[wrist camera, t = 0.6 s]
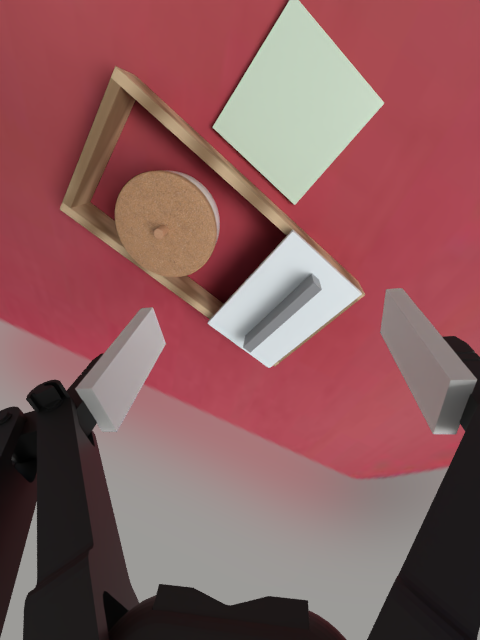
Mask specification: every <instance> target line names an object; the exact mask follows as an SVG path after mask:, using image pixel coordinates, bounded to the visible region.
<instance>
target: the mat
mask: <svg viewBox="0 0 480 640" xmlns="http://www.w3.org/2000/svg"><path fill="white" fill-rule="evenodd" d="M383 104H384V102H383V101H382V100H381V98H380V97H379V96H378V95H377V94H376V92H375V91H374V90H373V89H372V88H371V86H370V85H369V84H368V83H367V82H366V80H365V79H364V78H363V77H362V76H361V74H360V73H359V72H358V71H357V70H356V68H355V67H354V66H353V65H352V64H351V62H350V61H349V60H348V59H347V58H346V57H345V55H344V54H343V53H342V52H341V51H340V49H339V48H338V47H337V46H336V45H335V43H334V42H333V41H332V40H331V39H330V37H329V36H328V35H327V34H326V33H325V31H324V30H323V29H322V28H321V27H320V25H319V24H318V23H317V22H316V21H315V19H314V18H313V17H312V16H311V15H310V13H309V12H308V11H307V10H306V9H305V7H304V6H303V5H302V4H301V3H300V1H299V0H289V2H288V4H287V5H286V7H285V9H284V10H283V12H282V14H281V15H280V17H279V18H278V20H277V22H276V23H275V25H274V27H273V28H272V30H271V32H270V33H269V35H268V37H267V38H266V40H265V42H264V43H263V45H262V46H261V48H260V50H259V51H258V53H257V55H256V56H255V58H254V60H253V61H252V63H251V65H250V66H249V68H248V70H247V71H246V73H245V74H244V76H243V78H242V79H241V81H240V83H239V84H238V86H237V88H236V89H235V91H234V93H233V94H232V96H231V98H230V99H229V101H228V103H227V104H226V106H225V107H224V109H223V111H222V112H221V114H220V116H219V117H218V119H217V121H216V122H215V124H214V126H213V128H214V129H215V130H216V131H217V132H218V133H219V134H220V135H221V136H222V137H223V138H224V139H225V140H226V141H227V142H228V143H230V144H231V145H232V146H233V147H234V148H235V149H236V150H237V151H238V152H239V153H240V154H241V155H242V156H243V157H244V158H245V159H246V160H248V161H249V162H250V163H251V164H252V165H253V166H254V167H255V168H256V169H257V170H258V171H259V172H260V173H261V174H262V175H263V176H264V177H266V178H267V179H268V180H269V181H270V182H271V183H272V184H273V185H274V186H275V187H276V188H277V189H278V190H279V191H280V192H281V193H282V194H284V195H285V196H286V197H287V198H288V199H289V200H290V201H291V202H292V203H293V204H294V205H295V204H296V203H297V202H298V201H299V200H300V199H301V197H302V196H303V195H304V194H305V193H306V192H307V191H308V189H309V188H310V187H311V186H312V185H313V184H314V183H315V182H316V180H317V179H318V178H319V177H320V176H321V175H322V174H323V172H324V171H325V170H326V169H327V168H328V167H329V166H330V164H331V163H332V162H333V161H334V160H335V159H336V158H337V156H338V155H339V154H340V153H341V152H342V151H343V150H344V148H345V147H346V146H347V145H348V144H349V143H350V142H351V141H352V139H353V138H354V137H355V136H356V135H357V134H358V133H359V131H360V130H361V129H362V128H363V127H364V126H365V125H366V123H367V122H368V121H369V120H370V119H371V118H372V117H373V115H374V114H375V113H376V112H377V111H378V110H379V109H380V107H381V106H382V105H383Z"/></svg>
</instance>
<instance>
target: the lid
mask: <svg viewBox="0 0 480 640" xmlns="http://www.w3.org/2000/svg"><path fill="white" fill-rule="evenodd" d="M360 295H362V293H361V291H360V290H359V289H358V288H357V287H356V286H354V285H353V284H352V283H351V282H350V281H349V280H348V279H347V278H346V277H345V276H344V275H342V274H341V273H340V272H339V271H338V270H337V269H336V268H335V267H334V266H333V265H331V264H330V263H329V262H328V261H327V260H326V259H325V258H324V257H323V256H322V255H321V254H319V253H318V252H317V251H316V250H315V249H314V248H313V247H312V246H311V245H310V244H308V243H307V242H306V241H305V240H304V239H303V238H302V237H301V236H300V235H299V234H298V233H296V232H295V231H294V230H293V229H292V231H291V232H290V233H289V234H288V235H287V236H286V237H285V238H284V239H283V240H282V241H281V243H280V244H279V245H278V246H277V247H276V248H275V249H274V250H273V251H272V252H271V253H270V254H269V256H268V257H267V258H266V259H265V260H264V261H263V262H262V263H261V264H260V265H259V266H258V268H257V269H256V270H255V271H254V272H253V273H252V274H251V275H250V276H249V277H248V278H247V279H246V281H245V282H244V283H243V284H242V285H241V286H240V287H239V288H238V289H237V290H236V291H235V293H234V294H233V295H232V296H231V297H230V298H229V299H228V300H227V301H226V302H225V303H224V304H223V306H222V307H221V308H220V309H219V310H218V311H217V312H216V313H215V314H214V315H213V316H212V317H211V319H210V320H209V321H208V324H209V325H210V326H212V327H213V328H214V329H216V330H217V331H218V332H220V333H221V334H223V335H224V336H225V337H227V338H228V339H230V340H231V341H232V342H234V343H235V344H236V345H238V346H239V347H241V348H242V349H243V350H245V351H246V352H247V353H249V354H250V355H252V356H253V357H254V358H256V359H257V360H258V361H260V362H261V363H263V364H264V365H265V366H267V367H268V368H270V367H271V366H273V365H274V364H275V363H276V362H278V361H279V360H280V359H281V358H283V357H284V356H285V355H286V354H288V353H289V352H290V351H291V350H293V349H294V348H295V347H297V346H298V345H299V344H300V343H302V342H303V341H304V340H305V339H307V338H308V337H309V336H310V335H312V334H313V333H314V332H315V331H317V330H318V329H319V328H320V327H322V326H323V325H324V324H325V323H327V322H328V321H329V320H330V319H332V318H333V317H334V316H335V315H337V314H338V313H339V312H340V311H342V310H343V309H344V308H345V307H347V306H348V305H349V304H350V303H352V302H353V301H354V300H355V299H357V298H358V297H359V296H360Z"/></svg>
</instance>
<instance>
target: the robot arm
mask: <svg viewBox="0 0 480 640" xmlns="http://www.w3.org/2000/svg"><path fill="white" fill-rule="evenodd" d="M380 333H381V335H382V337H383V339H384V341H385V343H386V344H387V346H388V348H389V350H390V352H391V354H392V356H393V358H394V360H395V362H396V364H397V366H398V368H399V369H400V371H401V373H402V375H403V377H404V379H405V381H406V383H407V385H408V387H409V389H410V391H411V392H412V394H413V396H414V398H415V400H416V402H417V404H418V406H419V408H420V410H421V412H422V414H423V416H424V417H425V419H426V421H427V423H428V425H429V427H430V429H431V431H432V433H433V434H456V433H457V430H458V428H459V425H460V424H461V426H462V427H463V429H464V430H465V434H464V436H463V438H462V440H461V442H460V444H459V447H458V449H457V451H456V453H455V455H454V457H453V459H452V462H451V464H450V466H449V468H448V470H447V472H446V475H445V477H444V479H443V481H442V483H441V485H440V487H439V489H438V491H437V494H436V496H435V498H434V500H433V502H432V504H431V506H430V509H429V511H428V513H427V515H426V517H425V519H424V521H423V524H422V526H421V528H420V530H419V532H418V534H417V536H416V539H415V541H414V543H413V545H412V547H411V549H410V552H409V554H408V556H407V558H406V560H405V562H404V564H403V566H402V568H401V571H400V573H399V575H398V576H397V578H396V580H395V582H394V584H393V586H392V588H391V590H390V592H389V594H388V596H387V599H386V601H385V603H384V605H383V607H382V609H381V612H380V613H379V616H378V618H377V620H376V622H375V624H374V626H373V628H372V631H371V633H370V635H369V637H368V639H367V640H477V635H478V631H479V628H480V357H479V356H478V355H477V354H476V353H475V351H474V350H473V349H472V348H471V347H470V346H469V345H468V344H467V343H466V342H464V341H462V340H460V339H459V338H457V337H455V336H448V337H442V336H441V335H440V334H439V332H438V331H437V330H436V329H435V328H434V326H433V325H432V324H431V323H430V322H429V320H428V319H427V318H426V317H425V315H424V314H423V313H422V312H421V311H420V309H419V308H418V307H417V306H416V305H415V303H414V302H413V301H412V300H411V298H410V297H409V296H408V295H407V294H406V292H405V291H404V290H403V289H402V288H397V289H386V294H385V301H384V309H383V317H382V324H381V332H380ZM165 344H166V343H165V340H164V337H163V335H162V332H161V329H160V326H159V323H158V321H157V318H156V315H155V312H154V309H153V307H152V308H141V309H140V310H139V312H138V313H137V314H136V315H135V316H134V318H133V319H132V320H131V321H130V323H129V324H128V325H127V326H126V327H125V329H124V330H123V331H122V332H121V333H120V335H119V336H118V337H117V338H116V340H115V341H114V342H113V343H112V344H111V346H110V347H109V348H108V349H107V351H106V352H105V353H104V354H100V355H99V356H98V357H96V358H95V359H94V360H92V362H91V363H90V364H89V365H88V366H87V369H85V370H84V371H83V372H82V375H80V376H79V377H78V378H77V379H76V380H75V382H74V383H73V384H72V385H71V386H70V387H69V389H68V390H67V391H66V390H65V388H64V387H63V385H62V384H61V382H60V381H58V380H50V381H47V382H44V383H42V384H40V385H38V386H37V387H35V388H34V389H33V390H32V391H31V392H30V393H29V394H28V395H27V398H26V400H27V401H28V402H29V404H30V405H31V406H32V407H33V409H34V410H35V411H32V412H28V413H25V414H23V412H22V411H21V410H20V409H19V408H18V407H9V408H6V409H4V410H1V411H0V636H1V633H2V629H3V625H4V621H5V618H6V614H7V610H8V607H9V603H10V599H11V595H12V592H13V588H14V584H15V580H16V577H17V573H18V569H19V565H20V562H21V558H22V554H23V551H24V547H25V543H26V539H27V535H28V532H29V528H30V524H31V521H32V517H33V513H34V510H35V506H36V502H37V585H36V587H35V589H34V590H32V591H30V592H29V593H28V595H27V597H26V600H25V607H24V628H23V640H346V639H345V638H344V636H343V635H342V634H341V633H340V632H339V631H338V630H337V629H336V628H335V627H333V626H332V625H331V624H330V623H329V622H328V621H326V620H325V619H323V618H321V617H320V616H319V615H317V614H315V613H313V612H311V611H308V601H306V600H298V599H289V598H280V597H271V596H268V597H264V598H260V599H256V600H252V601H248V602H244V603H239V604H236V605H231V606H230V605H225V604H223V603H221V602H219V601H217V600H215V599H213V598H212V597H210V596H208V595H206V594H204V593H202V592H200V591H198V590H196V589H194V588H190V587H181V586H172V585H163V584H159V587H158V591H157V595H156V596H153V597H151V598H148V599H146V600H144V601H142V602H141V603H139V602H138V599H137V597H136V595H135V593H134V590H133V588H132V586H131V583H130V580H129V576H128V572H127V568H126V564H125V559H124V556H123V551H122V547H121V542H120V538H119V534H118V530H117V525H116V521H115V517H114V513H113V508H112V504H111V500H110V496H109V492H108V487H107V483H106V479H105V475H104V470H103V466H102V462H101V457H100V454H99V449H98V445H97V440H96V436H95V434H94V432H93V431H92V430H93V428H94V426H95V425H96V423H97V424H98V426H99V428H100V429H101V431H103V432H110V431H111V432H113V431H114V432H117V431H118V429H119V427H120V425H121V423H122V422H123V420H124V418H125V416H126V414H127V413H128V411H129V409H130V407H131V405H132V404H133V402H134V400H135V398H136V396H137V395H138V392H139V391H140V389H141V387H142V386H143V384H144V382H145V380H146V378H147V377H148V375H149V373H150V371H151V370H152V368H153V366H154V364H155V362H156V361H157V359H158V357H159V355H160V353H161V352H162V350H163V348H164V346H165Z"/></svg>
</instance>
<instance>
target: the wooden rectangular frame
mask: <svg viewBox="0 0 480 640" xmlns="http://www.w3.org/2000/svg"><path fill="white" fill-rule="evenodd" d="M135 100H137V101H138V102H139V103H140V104H141V105H142V106H143V107H144V108H145V109H147V110H148V111H149V112H150V113H151V114H152V115H153V116H154V117H155V118H157V119H158V120H159V121H160V122H161V123H162V124H163V125H164V126H165V127H167V128H168V129H169V130H170V131H171V132H172V133H173V134H174V135H175V136H177V137H178V138H179V139H180V140H181V141H182V142H183V143H184V144H185V145H187V146H188V147H189V148H190V149H191V150H192V151H193V152H194V153H195V154H197V155H198V156H199V157H200V158H201V159H202V160H203V161H204V162H205V163H207V164H208V165H209V166H210V167H211V168H212V169H213V170H214V171H215V172H217V173H218V174H219V175H220V176H221V177H222V178H223V179H224V180H225V181H227V182H228V183H229V184H230V185H231V186H232V187H233V188H234V189H235V190H237V191H238V192H239V193H240V194H241V195H242V196H243V197H244V198H245V199H247V200H248V201H249V202H250V203H251V204H252V205H253V206H254V207H255V208H257V209H258V210H259V211H260V212H261V213H262V214H263V215H264V216H265V217H267V218H268V219H269V220H270V221H271V222H272V223H273V224H274V225H276V226H277V227H278V228H279V229H280V230H281V231H282V232H283V233H284V234H286V235H288V234H289V233H290V232H291V231H292V229H293V230H294V231H295V232H296V233H298V234H299V235H300V236H301V237H302V238H303V239H304V240H305V241H306V242H307V243H308V244H310V245H311V246H312V247H313V248H314V249H315V250H316V251H317V252H318V253H319V254H321V255H322V256H323V257H324V258H325V259H326V260H327V261H328V262H329V263H330V264H331V265H333V266H334V267H335V268H336V269H337V270H338V271H339V272H340V273H341V274H342V275H344V276H345V277H346V278H347V279H348V280H349V281H350V282H351V283H352V284H353V285H354V286H356V287H357V288H358V289H359V290H360V291H361V293H362V295H360V296H359V297H358V298H357V299H355V300H354V301H353V302H352V303H350V304H349V305H348V306H347V307H345V308H344V309H343V310H342V311H340V312H339V313H338V314H337V315H335V316H334V317H333V318H332V319H330V320H329V321H328V322H327V323H325V324H324V325H323V326H322V327H320V328H319V329H318V330H317V331H315V332H314V333H313V334H312V335H310V336H309V337H308V338H307V339H305V340H304V341H303V342H302V343H300V344H299V345H298V346H297V347H295V348H294V349H293V350H291V351H290V352H289V353H288V354H286V355H285V356H284V357H283V358H281V359H280V360H279V361H278V362H276V363H275V364H274V365H273V366H276V365H277V364H278V363H280V362H281V361H282V360H283V359H285V358H286V357H287V356H289V355H290V354H291V353H292V352H294V351H295V350H296V349H297V348H299V347H300V346H301V345H302V344H304V343H305V342H306V341H307V340H309V339H310V338H311V337H313V336H314V335H315V334H316V333H318V332H319V331H320V330H321V329H323V328H324V327H325V326H326V325H328V324H329V323H330V322H331V321H333V320H334V319H335V318H336V317H338V316H339V315H340V314H342V313H343V312H344V311H345V310H347V309H348V308H349V307H350V306H352V305H353V304H354V303H355V302H357V301H358V300H359V299H360V298H362V297H363V296H364V295H365V293H364V291H363V289H362V288H361V286H360V284H359V282H358V281H357V280H356V279H355V278H354V277H353V276H352V275H351V274H350V273H349V272H348V271H347V270H345V269H344V268H343V267H342V266H341V265H340V264H339V263H338V262H337V261H336V260H335V259H334V258H332V257H331V256H330V255H329V254H328V253H327V252H326V251H325V250H324V249H323V248H322V247H321V246H319V245H318V244H317V243H316V242H315V241H314V240H313V239H312V238H311V237H310V236H309V235H308V234H306V233H305V232H304V231H303V230H302V229H301V228H300V227H299V226H298V225H297V224H296V223H295V222H293V221H292V220H291V219H290V218H289V217H288V216H287V215H286V214H285V213H284V212H283V211H282V210H280V209H279V208H278V207H277V206H276V205H275V204H274V203H273V202H272V201H271V200H270V199H269V198H267V197H266V196H265V195H264V194H263V193H262V192H261V191H260V190H259V189H258V188H257V187H256V186H254V185H253V184H252V183H251V182H250V181H249V180H248V179H247V178H246V177H245V176H244V175H243V174H241V173H240V172H239V171H238V170H237V169H236V168H235V167H234V166H233V165H232V164H231V163H230V162H228V161H227V160H226V159H225V158H224V157H223V156H222V155H221V154H220V153H219V152H218V151H217V150H215V149H214V148H213V147H212V146H211V145H210V144H209V143H208V142H207V141H206V140H205V139H204V138H203V137H201V136H200V135H199V134H198V133H197V132H196V131H195V130H194V129H193V128H192V127H191V126H190V125H188V124H187V123H186V122H185V121H184V120H183V119H182V118H181V117H180V116H179V115H178V114H177V113H175V112H174V111H173V110H172V109H171V108H170V107H169V106H168V105H167V104H166V103H165V102H164V101H162V100H161V99H160V98H159V97H158V96H157V95H156V94H155V93H154V92H153V91H152V90H151V89H149V88H148V87H147V86H146V85H145V84H144V83H143V82H142V81H141V80H140V79H139V78H138V77H136V76H135V75H134V74H131V73H129V72H127V71H125V70H123V69H121V68H118V67H116V66H115V68H114V71H113V74H112V76H111V79H110V81H109V84H108V86H107V89H106V92H105V94H104V97H103V99H102V102H101V104H100V107H99V110H98V112H97V115H96V117H95V120H94V122H93V125H92V128H91V130H90V133H89V135H88V138H87V140H86V143H85V145H84V148H83V151H82V153H81V156H80V158H79V161H78V163H77V166H76V169H75V171H74V174H73V176H72V179H71V181H70V184H69V187H68V189H67V192H66V194H65V197H64V199H63V202H62V205H61V207H60V210H61V211H63V212H64V213H65V214H67V215H68V216H70V217H71V218H72V219H74V220H75V221H76V222H78V223H79V224H80V225H82V226H83V227H85V228H86V229H87V230H89V231H90V232H91V233H93V234H94V235H96V236H97V237H98V238H100V239H101V240H102V241H104V242H105V243H106V244H108V245H109V246H111V247H112V248H113V249H115V250H116V251H117V252H119V253H120V254H122V255H123V256H124V257H126V258H127V259H128V260H130V261H131V262H132V263H134V264H135V265H137V266H138V267H139V268H141V269H142V270H143V271H145V272H146V273H147V274H149V275H150V276H152V277H153V278H154V279H156V280H157V281H158V282H160V283H161V284H163V285H164V286H165V287H167V288H168V289H169V290H171V291H172V292H173V293H175V294H176V295H178V296H179V297H180V298H182V299H183V300H184V301H186V302H187V303H188V304H190V305H191V306H193V307H194V308H195V309H197V310H198V311H199V312H201V313H202V314H204V315H205V316H206V317H208V318H209V319H211V317H212V316H213V315H214V314H215V313H216V312H217V311H218V310H219V309H220V308H221V307H222V306H223V303H222V302H221V301H219V300H218V299H217V298H215V297H214V296H213V295H212V294H210V293H209V292H208V291H206V290H205V289H204V288H202V287H201V286H200V285H198V284H197V283H196V282H194V281H193V280H192V279H190V278H189V277H188V276H187V275H186V276H182V277H166V276H161V275H158V274H155V273H153V272H151V271H149V270H147V269H145V268H144V267H142V266H141V265H140V264H138V263H137V262H136V261H135V260H134V259H133V258H132V257H131V256H130V255H129V253H128V252H127V251H126V249H125V248H124V246H123V244H122V242H121V240H120V238H119V235H118V233H117V229H116V224H115V221H114V220H113V219H112V218H110V217H109V216H108V215H106V214H105V213H104V212H102V211H101V210H100V209H98V208H97V207H96V206H94V205H93V204H92V203H90V201H91V199H92V197H93V194H94V192H95V190H96V188H97V186H98V183H99V181H100V179H101V177H102V174H103V172H104V170H105V168H106V165H107V163H108V161H109V159H110V156H111V154H112V152H113V150H114V147H115V145H116V143H117V141H118V138H119V136H120V134H121V132H122V130H123V127H124V125H125V123H126V121H127V118H128V116H129V114H130V112H131V109H132V107H133V105H134V103H135Z"/></svg>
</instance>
